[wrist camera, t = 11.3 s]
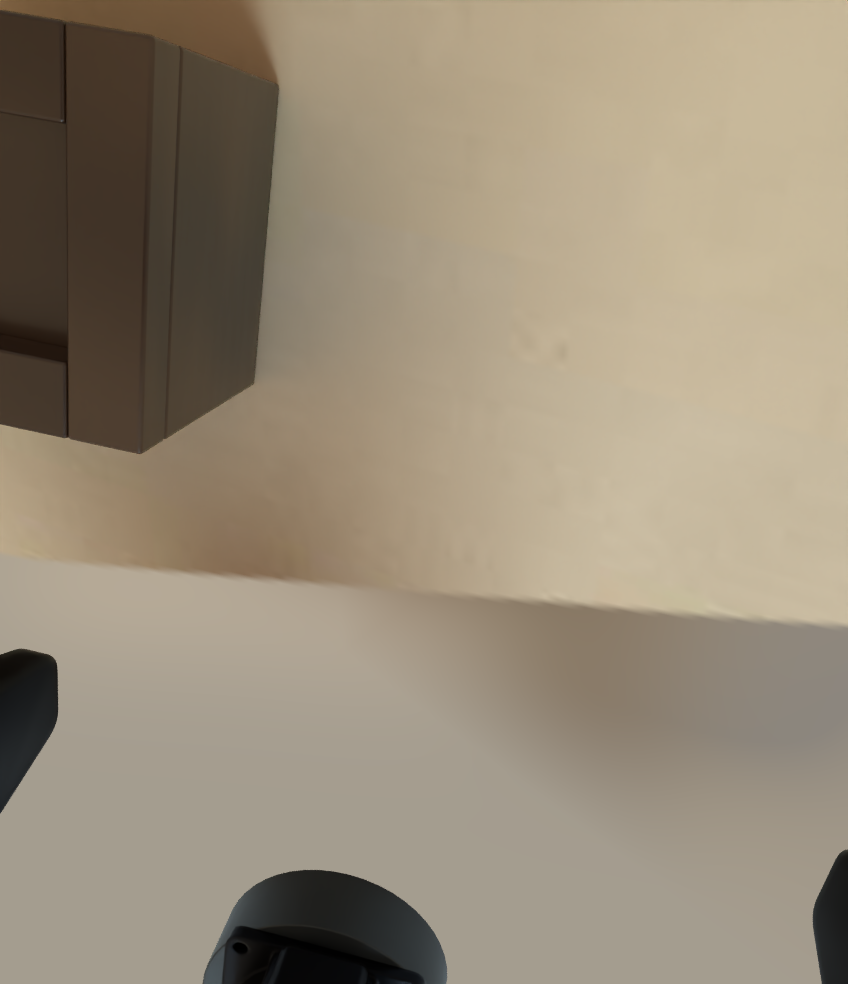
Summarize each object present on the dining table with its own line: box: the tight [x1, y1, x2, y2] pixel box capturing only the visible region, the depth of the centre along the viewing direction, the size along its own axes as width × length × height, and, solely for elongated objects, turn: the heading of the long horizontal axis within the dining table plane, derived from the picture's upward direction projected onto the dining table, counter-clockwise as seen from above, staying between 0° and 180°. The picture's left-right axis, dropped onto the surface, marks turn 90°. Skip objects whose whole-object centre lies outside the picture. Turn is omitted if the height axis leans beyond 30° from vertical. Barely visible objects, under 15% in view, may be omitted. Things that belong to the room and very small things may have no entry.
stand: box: [0, 10, 279, 454], centre depth 17 cm, size 7×7×6 cm
